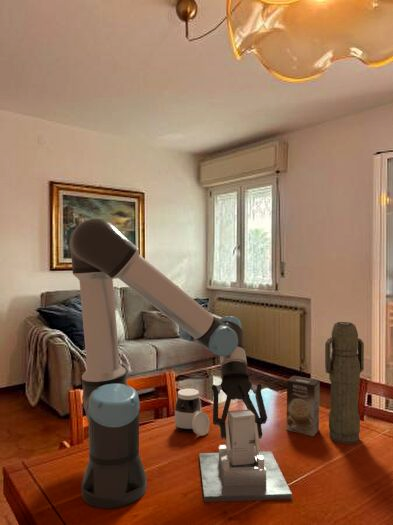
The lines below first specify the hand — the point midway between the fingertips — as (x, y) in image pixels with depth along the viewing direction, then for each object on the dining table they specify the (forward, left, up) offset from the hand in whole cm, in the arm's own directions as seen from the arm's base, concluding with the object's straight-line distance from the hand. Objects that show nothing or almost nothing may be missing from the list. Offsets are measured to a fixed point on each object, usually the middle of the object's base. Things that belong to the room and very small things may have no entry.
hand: (243, 451), depth 98 cm
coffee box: (+24, +30, -8) cm, 39 cm away
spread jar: (-11, +32, -8) cm, 34 cm away
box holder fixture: (0, +4, -8) cm, 9 cm away
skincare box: (0, +4, -4) cm, 6 cm away
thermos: (+35, +24, -8) cm, 43 cm away
